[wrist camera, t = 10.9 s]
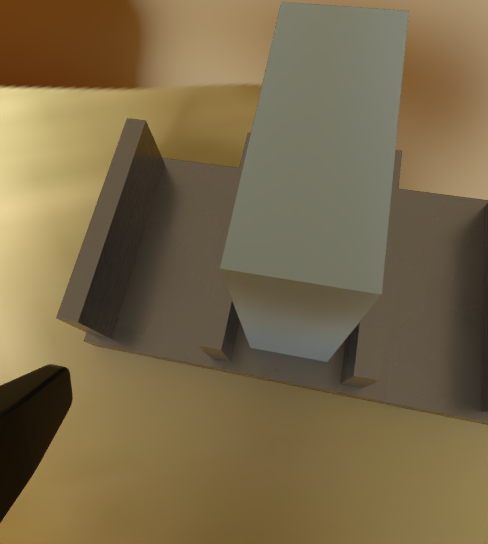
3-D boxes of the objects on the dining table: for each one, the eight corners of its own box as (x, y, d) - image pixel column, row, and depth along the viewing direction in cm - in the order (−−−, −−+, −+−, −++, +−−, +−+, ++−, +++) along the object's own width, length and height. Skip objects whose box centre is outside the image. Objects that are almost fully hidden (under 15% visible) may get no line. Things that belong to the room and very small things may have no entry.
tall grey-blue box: (327, 362, 16) (381, 294, 8) (250, 347, 16) (220, 268, 8) (348, 201, 18) (408, 10, 10) (280, 192, 19) (281, 1, 10)
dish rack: (499, 427, 16) (569, 428, 12) (94, 345, 18) (45, 325, 14) (500, 214, 18) (557, 161, 15) (150, 167, 21) (122, 111, 17)
